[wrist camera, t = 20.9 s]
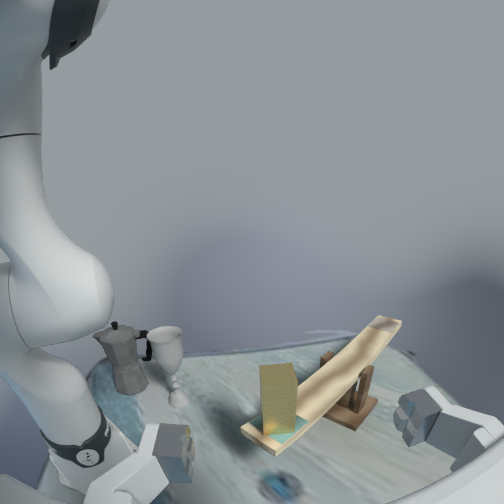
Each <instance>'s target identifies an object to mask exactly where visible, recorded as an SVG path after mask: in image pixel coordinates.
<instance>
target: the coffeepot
mask: <svg viewBox="0 0 504 504" xmlns="http://www.w3.org/2000/svg"><path fill="white" fill-rule="evenodd" d="M111 325H112V327H109V328H107V329H105V330H104V331H101V332H97V333H95V334H94V335H93V338H95V339H96V340H97V341H98V342H99V343H100V344H101V345H102V347H103V349H104V351H105V353H106V355H107V357H108V359H109V361H110V363H111V364H112V368H113V374H114V381H115V385H116V389H117V392H119V393H122V394H125V395H135V394H138V393H140V392H142V391H144V390H145V389H146V387H147V385H148V384H149V383H148V381H147V379H146V376H145V374H144V372H143V370H142V368H141V366H140V364H139V362H138V360H137V357H138V355H137V345H136V339H141V338H146V339H147V334H148V333H149V332H148V331H146V330H142V331H140V330H134V328H133V327H130V326H125V325H119V326H118V325H117V322H112V323H111ZM146 355H147V357H144V358H142V360H143V361H150V360H151V357H152V347H151V343H150V341H149V340H148V339H147V349H146Z"/></svg>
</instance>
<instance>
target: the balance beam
mask: <svg viewBox="0 0 504 504" xmlns="http://www.w3.org/2000/svg"><path fill="white" fill-rule="evenodd" d="M401 323H402V321H399V320H396V319H391V318H387V317H384V316H380V315H378V316H377V317H376V318H375V319H374V320H373V321H372V322H371V323H370V324H369V325H368V326H367V327H366V328H365V329H364V330H363V331H362V332H361V333H360V334H359V335H358V336H356V337H355V338H354V339H353V340H352V341H351V342H350V343H349V344H348V345H347V346H346V347H344V348H343V349H342V350H341V351H340V352H339V353H338V354H337V355H335V356H334V357H333V358H332V359H331V360H330V361H328V362H327V363H326V364H325V365H324V366H323V367H321V368H320V369H319V370H318V371H317V372H315V373H314V374H313V375H312V376H310V377H309V378H308V379H307V380H305V381H304V382H303V383H302V384H300V385H299V386H298V393H297V407H296V420H295V432H292V433H284V434H275V435H264V434H263V426H262V418H261V414H259V415H258V416H256V417H255V418H253V419H252V420H250V421H249V422H247V423H246V424H244V425H243V426H241V427H240V428H241V434H243V435H244V436H246V437H247V438H248V439H250V440H251V441H253V442H254V443H255V444H257V445H258V446H260V447H261V448H263V449H264V450H266V451H267V452H269V453H270V454H272V455H273V456H275V457H276V456H277V455H278V454H280V453H281V452H282V451H283V450H285V449H286V448H287V447H288V446H289V445H291V444H292V443H293V442H294V441H295V440H297V439H298V438H299V437H300V436H301V435H302V434H303V433H305V432H306V431H307V430H308V429H309V428H310V427H311V426H312V425H313V424H314V423H315V422H317V421H318V420H319V419H320V418H321V417H322V416H323V415H324V414H325V413H326V412H327V411H328V410H329V409H330V408H331V407H332V406H333V405H334V404H335V403H336V402H337V401H338V400H339V399H340V398H341V397H342V396H343V395H344V394H345V393H346V392H347V391H348V390H349V388H350V387H351V386H352V385H353V384H354V383H355V382H356V381H357V380H358V379H359V377H360V376H361V374H362V372H363V371H364V370H365V368H366V367H367V366H368V365H371V364H372V362H373V361H374V360H375V359H376V358H377V356H378V355H379V354H380V353H381V352H382V350H383V349H384V348H385V347H386V345H387V344H388V343H389V341H390V340H391V339H392V338H393V336H394V335H395V334H396V332H397V331H398V330H399V328H400V327H401Z"/></svg>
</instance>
